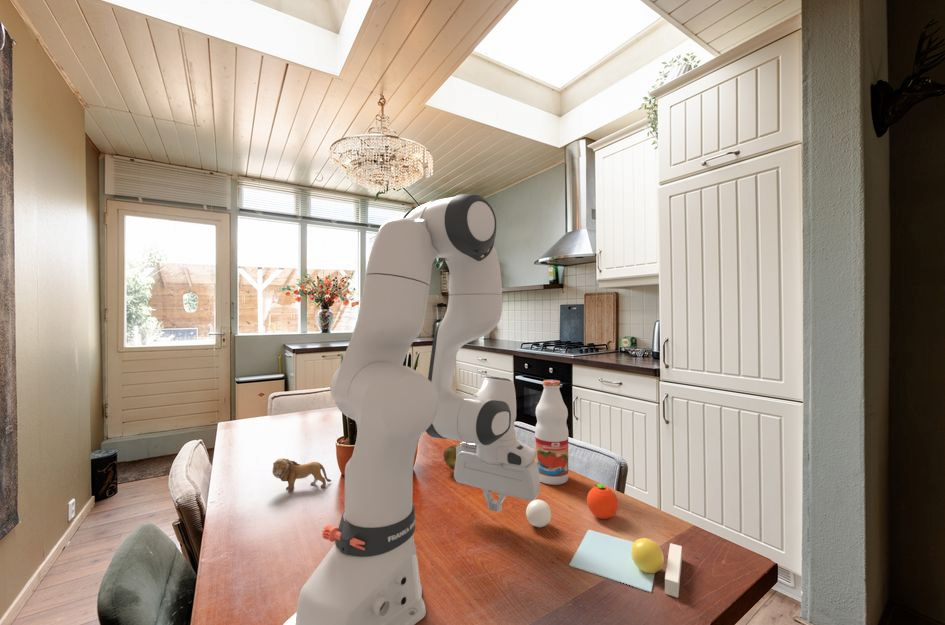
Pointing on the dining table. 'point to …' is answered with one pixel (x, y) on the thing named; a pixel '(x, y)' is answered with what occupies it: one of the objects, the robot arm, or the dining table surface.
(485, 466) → the robot arm
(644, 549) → the yellow ball
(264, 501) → the dining table surface
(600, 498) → the clementine
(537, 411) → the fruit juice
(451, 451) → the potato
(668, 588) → the rail
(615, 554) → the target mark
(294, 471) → the lion figurine
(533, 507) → the cue ball
